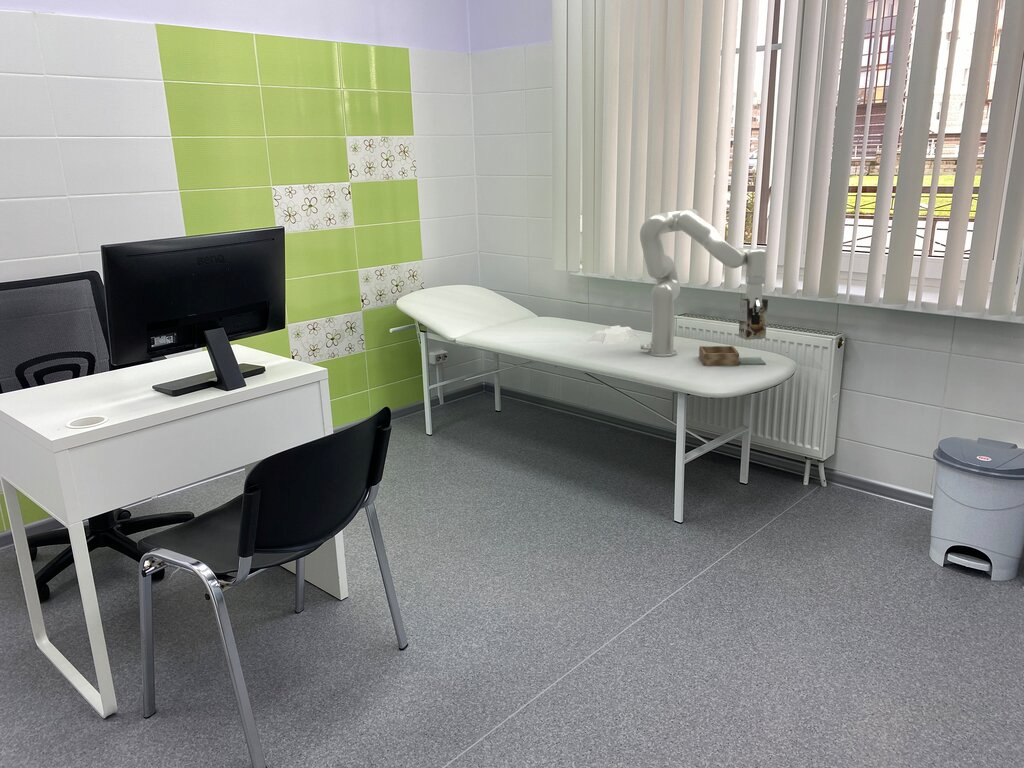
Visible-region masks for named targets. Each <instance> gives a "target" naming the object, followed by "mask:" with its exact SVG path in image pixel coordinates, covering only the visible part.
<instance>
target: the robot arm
mask: <svg viewBox="0 0 1024 768" xmlns="http://www.w3.org/2000/svg"><path fill="white" fill-rule="evenodd" d="M679 231H680V232H684V233H685V234H686V235H688V236H689V237H690V238H692V239H693V240H694V241H696V242H697V243H699V244H700V245H701V246H702V247H703V248H704V249H705V250H706V251H707V252H708V253H709V254H710V255H711V256H713V257H714V258H715V259H716V260H717V261H718V262H720V263H721V264H723V265H724V266H726V267H727V268H730V269H738V268H741V267H743V266H745V267H746V269H745V281H744V282H745V284H746V290H745V298H744V299H748V300H749V301H750V305H749V308H750V309H751V308H752V314H753V315H752V317H751V324H752V325H759V324H760V308H761V306H762V298H763V285H765V284H766V271H767V270H766V268H767V251H766V249H764V248H746V247H745V248H744V247H733V246H732V245H730V244H729V243H728V242H727V241H725V240H724V238H722V236H721V235H720V234H719V231H718V230H717V228H716V227H714V226H713V225H712V224H711V223H709V222H707V220H705V219H703V218H702V217H701V214H700V212H699V211H698V210H696V209H694V208H687V209H681V210H674V211H668V212H659V213H656V214H653V215H651V216H650V217H648V218H647V219H646V220H645V221H644V222H643V224H642V225H641V228H640V230H639V240H640V245H641V249H642V253H643V258H644V262H645V265H646V269H647V270H646V271H647V274H648V276H649V277H650V278H651V279H653V280H656V284H654V286H653V288H652V289H651V294H650V302H651V339H650V341H651V342H649V343H648V344H640V350H643V351H646V350H647V355H649V356H652V357H659V358H668V357H673V356H676V355H677V354H678V351H677V350H675V349H674V342H675V341H674V340H675V338H674V337H675V335H674V334H675V305H674V304H675V303H674V301H675V300H676V299H677V298H678V297H679V296H680V292H681V285H680V280H679V276H678V271H677V267H676V264H675V262H674V260H673V258H671V257H670V256H669V255H666V254H665V251H664V246H663V243H662V240H661V235H663V234H666V233H672V232H673V233H674V232H679ZM754 304H756V307H753V306H754ZM754 309H755V310H754Z"/></svg>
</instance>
